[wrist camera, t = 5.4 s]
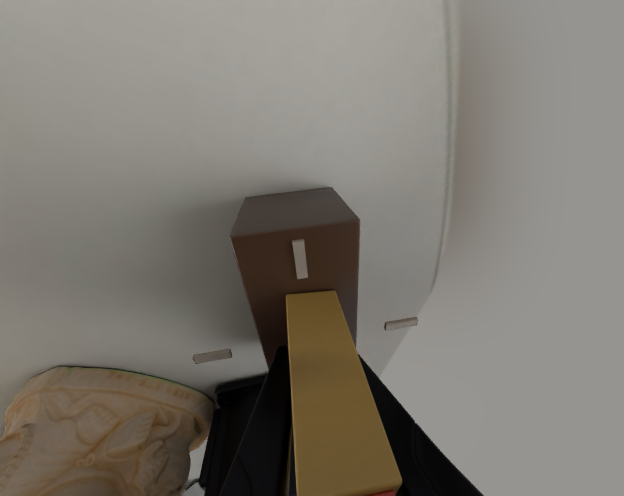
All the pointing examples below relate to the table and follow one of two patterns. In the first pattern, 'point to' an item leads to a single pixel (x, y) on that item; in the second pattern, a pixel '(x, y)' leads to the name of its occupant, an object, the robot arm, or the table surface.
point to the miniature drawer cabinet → (296, 260)
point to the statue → (101, 434)
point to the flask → (194, 491)
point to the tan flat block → (333, 406)
